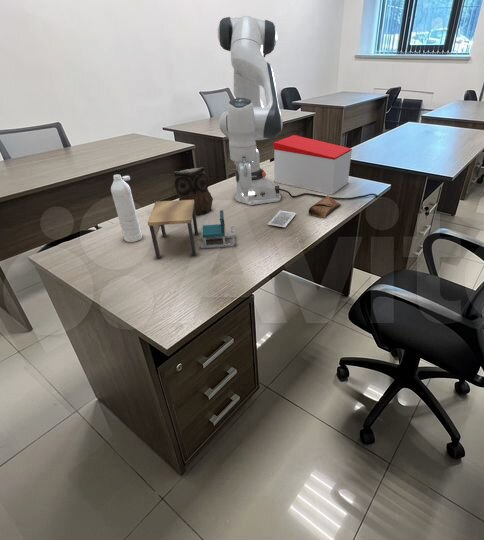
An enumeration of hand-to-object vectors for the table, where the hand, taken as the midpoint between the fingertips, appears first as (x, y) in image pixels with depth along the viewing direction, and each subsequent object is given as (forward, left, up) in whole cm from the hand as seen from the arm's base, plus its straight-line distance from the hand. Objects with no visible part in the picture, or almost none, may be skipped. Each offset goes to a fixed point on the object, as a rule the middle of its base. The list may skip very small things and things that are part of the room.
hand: (245, 193), depth 121 cm
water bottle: (+43, -7, -19) cm, 48 cm away
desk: (+26, 0, -19) cm, 32 cm away
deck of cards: (-16, -15, -19) cm, 29 cm away
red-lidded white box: (-39, -61, -19) cm, 75 cm away
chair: (+12, 0, -19) cm, 23 cm away
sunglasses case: (-37, -24, -19) cm, 49 cm away
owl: (+21, -31, -19) cm, 42 cm away
